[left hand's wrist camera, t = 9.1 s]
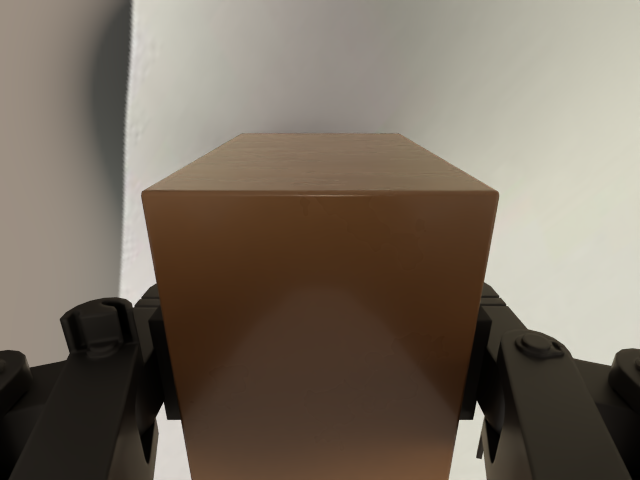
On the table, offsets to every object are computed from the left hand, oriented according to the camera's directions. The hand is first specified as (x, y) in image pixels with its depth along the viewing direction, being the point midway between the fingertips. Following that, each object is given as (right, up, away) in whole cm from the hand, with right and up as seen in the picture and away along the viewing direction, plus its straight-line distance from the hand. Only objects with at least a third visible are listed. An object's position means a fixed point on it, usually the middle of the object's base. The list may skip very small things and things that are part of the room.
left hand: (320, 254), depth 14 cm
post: (0, -35, +15) cm, 37 cm away
